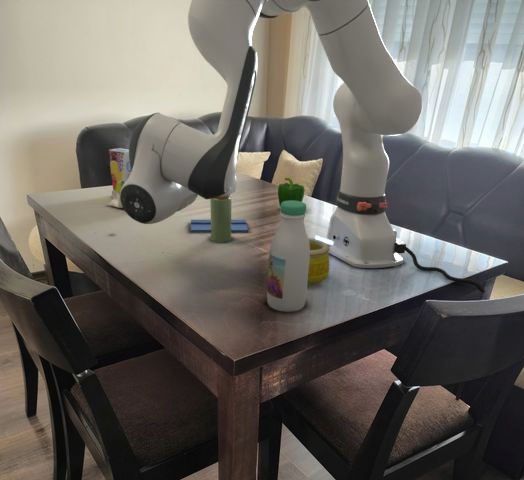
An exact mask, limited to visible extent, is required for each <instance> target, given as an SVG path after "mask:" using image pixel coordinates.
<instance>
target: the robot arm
mask: <svg viewBox="0 0 524 480" xmlns="http://www.w3.org/2000/svg"><path fill="white" fill-rule="evenodd" d="M302 8H306V9H307V10H308V11H309V13H310V16H311V19H312V22H313V25H314V28H315V30H316V33H317V35H318V38H319V40H320V43H321V46H322V48H323V50H324V52H325V55H326V57H327V58H326V59H327V60H328V62H329V65H330V68H331V69H332V71H333V72H334V74H335V75H336V76H337V77H339V79H340V80H341V81H342V82H343V83H341V85H339V87H338V88H337V90H336V91H335V94H334V96H333V101H332V107H333V112H334V115H335V117H336V119H337V121H338V123H339V128H340V129H339V130H340V133H341V135H340V136H341V143H342V144H341V145H342V167H341V168H342V170H341V178H340V185H339V190H338V191H337V195H336V202H335V203H336V208H335V210H334V211H333V213H332V215H331V216H330V218H329V223H328V229H327V233H326V238H325V237H321V236H319V235H315V237H314V239H317V240H320V241H323V242H325V243H326V244H327V245H328V246H329V251H328V253H329V255H330V254H331V255H332V256H334V257H335V258H338V259H339V260H340V261H343V262H345V263H347V264H349V265H350V266H352V267H355V268H360V269H361V268H362V269H380V268H382V269H383V268H390V267H396V266H400V265H402V264H403V263H404V258H403V257H402V256H401V255H400V254H405V253H407V254H408V255H410V257H411V259H412V263H413V265H414V267H416V269H418V270H420V271H424V272H437V273H440V274H441V275H442V276H443V277H444V278H445V279H447V280H449V281H451V282H455V283H462V284H463V283H464V284H470V285H472V286H475V287H476V288H477V289H478V291H479V292H480V293H483V294H485V293H486V290H485V289H484V287H483V285H482V284H480V283H479V282H478V281H476V280H473V279H470V278H462V277H454V276H452V275H450V274H449V273H448V272H447V271H446V270H445V269H443V268H440V267H436V266H423V265H421V264H419V262H418V259H417V256H416V254H415V253H414V252H413V251H412V250H411V249H410V248H408V247H407V243H406V242H405V241H403V240H402V239H401V238H400V237H397V235H398V234H397V230H396V229H393V227H392V225H391V223H390V221H389V219H388V217H387V215H386V211H387V208H388V207H389V206H388V204H389V202H387V199H386V194H385V191H386V186H387V179H388V175H389V174H388V173H389V169H390V159H389V156H388V154H387V153H386V151H385V146H384V142H383V136H384V137H385V136H386V137H390V136H392V137H393V136H400V135H404V134H407V133H410V131H411V130H413V129H414V128H415V126H416V125H417V124H418V123H419V120H420V118H421V116H422V112H423V106H424V104H423V103H424V101H423V97H422V92H421V91H420V90H419V89H418V87H416V86H415V85H413V84H412V83H411V82H410V81H409V80H408V78H407V77H405V75H404V74H403V72H402V71H401V70H400V68H399V66H398V65H397V63H396V62H395V60H394V59H393V57H392V55H391V54H390V52H389V50H388V49H387V47H386V46H385V44H384V41H383V38H382V37H381V34H380V31H379V29H378V26H377V23H376V19H375V17H374V15H373V11H372V8H371V4H370V2H369V0H191V2H190V5H189V10H188V12H187V13H188V14H187V25H188V30H189V34H190V37H191V39H192V42H193V44H194V46H195V47H196V49H197V50H198V52H199V53H200V55H201V56H202V57H203V59H204V60H205V61H206V62H207V63H208V64H209V65H210V66H211V67H212V68H213V69H214V70H215V71H216V72H217V73H218V74H219V75H220V77H221V78H222V79H223V81H225V83H226V85H227V89H226V93H225V94H226V95H225V98H224V103H223V106H222V110H221V114H220V118H219V121H218V128H217V131H216V132H215V133H214V134H207V133H205V132H203V131H201V130H198V129H196V128H194V127H191V126H189V125H186V124H185V123H184V122H182V121H179V120H177V119H174V118H172V117H170V116H167V115H165V114H162V113H160V112H154V113H151V114H149V115H148V116H146V117H145V118H143V119H142V120H141V121H140V122H139V123H138V124H137V125H136V127H135V128H134V130H133V131H132V134H131V136H130V141H129V145H128V150H129V161H130V167H131V174H130V176H129V178H128V179H127V180H126V182H125V183H124V185H123V186H122V188H121V192H120V201H121V204H122V207H123V208H122V209H123V211H125V213H126V215H127V216H128V217H129V218H131V219H132V220H134V221H135V222H137V223H140V224H143V225H151V224H152V225H153V224H157V223H160V222H162V221H165V220H166V219H168V218H170V217H172V216H173V215H174V214H176V213H177V212H180V211H182V210H183V209H186V208H187V207H188V206H190V205H192V204H193V203H194V202H195V201H196V199H197V198H198V196H199V197H201V198H202V199H204V200H210V199H212V198H216V197H223V196H227V195H229V194H230V195H231V194H234V193H235V192H236V189H237V176H236V173H237V166H238V159H239V153H240V148H241V145H242V140H243V137H244V133H245V128H246V124H247V120H248V117H249V116H248V115H249V113H250V108H251V103H252V99H253V95H254V90H255V85H256V83H257V82H256V81H257V75H258V66H259V62H258V61H259V59H258V52H257V50H256V49H255V48H254V46H253V41H252V39H253V34H254V33H253V32H254V29H255V26H256V24H257V22H258V19H259V18H262V19H275V18H277V17H279V16H283V15H288V14H292V13H295V12H298V11H299V10H300V9H302ZM465 384H466V381H465V382H464V383H461V382H460V383H459V386H458V389H457V392H456V395H455V399H454V400H455V401H457V402H459V401H460V398H461V395H462V392H463V389H464V386H465Z"/></svg>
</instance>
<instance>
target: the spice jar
mask: <svg viewBox="0 0 524 480" xmlns="http://www.w3.org/2000/svg"><path fill="white" fill-rule="evenodd" d="M209 200H210V203H209V206H210V220H211V232H210V239H211V241H212V242H215V243H228V242H230V241H231V240H232V232H231V220H232V197H231V194H229V195H227V196H223V197H216V198H212V199H209Z"/></svg>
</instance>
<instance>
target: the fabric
mask: <svg viewBox="0 0 524 480" xmlns="http://www.w3.org/2000/svg"><path fill="white" fill-rule="evenodd" d="M111 197H112V199H111V200H110V202H109V203H108V206H110V207H114V208H116V209H117V208H118V209H123V207H122V204H121V201H120V195H119V194H118V192H117V191H113V190H111Z"/></svg>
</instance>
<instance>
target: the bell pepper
mask: <svg viewBox="0 0 524 480" xmlns="http://www.w3.org/2000/svg"><path fill="white" fill-rule="evenodd" d="M284 180H285V181H288V182H284V183H280V184H279V185H278V187H277V197H278V203H279V207H280V206H281V203H282V202H284V201H290V200H293V201H300V202H303V201H304V197H305V191H306V189H305V186H304V185H301V184H299V183H294V181H293V179H292V178H291V177H289V176H287V177H286V176H285V177H284Z"/></svg>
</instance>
